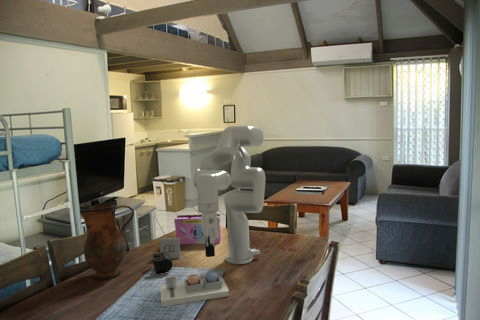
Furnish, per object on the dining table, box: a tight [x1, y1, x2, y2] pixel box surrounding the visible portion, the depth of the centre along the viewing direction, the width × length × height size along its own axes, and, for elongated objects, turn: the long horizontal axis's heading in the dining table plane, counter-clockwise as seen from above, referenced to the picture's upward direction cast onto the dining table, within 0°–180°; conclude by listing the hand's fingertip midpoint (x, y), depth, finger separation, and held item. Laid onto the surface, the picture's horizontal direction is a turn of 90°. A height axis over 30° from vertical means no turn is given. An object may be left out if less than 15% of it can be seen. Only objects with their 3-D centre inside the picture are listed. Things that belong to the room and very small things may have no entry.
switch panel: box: [159, 274, 230, 307], centre depth 141 cm, size 24×12×4 cm, turn 104°
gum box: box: [173, 213, 222, 245], centre depth 200 cm, size 24×8×14 cm, turn 88°
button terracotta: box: [187, 274, 200, 285], centre depth 141 cm, size 4×4×2 cm
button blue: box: [206, 271, 218, 283], centre depth 143 cm, size 4×4×2 cm
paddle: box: [165, 274, 177, 289], centre depth 142 cm, size 4×2×4 cm, turn 104°
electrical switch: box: [159, 237, 181, 260], centre depth 180 cm, size 9×5×9 cm, turn 90°
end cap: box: [152, 251, 173, 275], centre depth 165 cm, size 10×7×7 cm
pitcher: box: [79, 202, 135, 281], centre depth 161 cm, size 17×21×30 cm
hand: (210, 255), depth 141 cm, fingers closed
